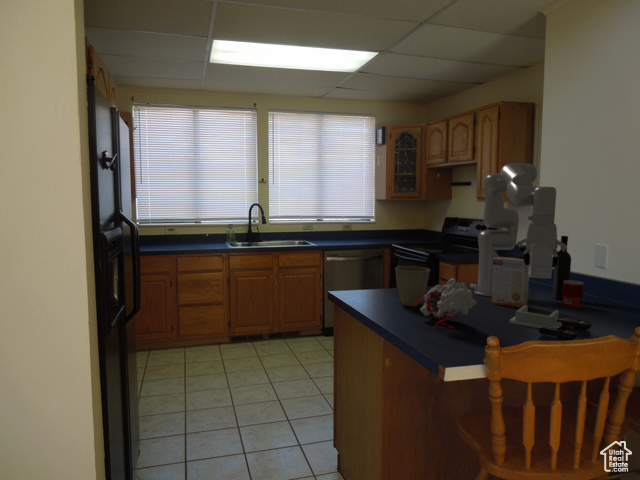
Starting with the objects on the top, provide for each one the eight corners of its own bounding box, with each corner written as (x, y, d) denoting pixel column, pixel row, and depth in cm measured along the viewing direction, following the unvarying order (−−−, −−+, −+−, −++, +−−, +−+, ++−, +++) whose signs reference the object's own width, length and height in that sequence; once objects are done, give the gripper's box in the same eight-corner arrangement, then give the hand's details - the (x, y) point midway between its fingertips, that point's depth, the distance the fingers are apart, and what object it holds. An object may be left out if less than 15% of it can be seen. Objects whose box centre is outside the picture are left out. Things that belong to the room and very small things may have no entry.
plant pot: (401, 309, 192) (403, 271, 191) (389, 301, 207) (390, 266, 205) (434, 308, 195) (436, 271, 194) (420, 300, 210) (421, 265, 208)
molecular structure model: (416, 345, 169) (465, 320, 151) (395, 299, 175) (440, 270, 157) (450, 334, 181) (499, 309, 163) (429, 291, 187) (474, 263, 169)
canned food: (584, 308, 199) (586, 283, 198) (564, 307, 201) (566, 282, 199) (578, 304, 206) (580, 280, 205) (559, 303, 208) (560, 279, 207)
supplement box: (548, 276, 175) (551, 243, 174) (551, 279, 168) (554, 245, 167) (527, 274, 178) (529, 242, 176) (529, 277, 171) (531, 243, 169)
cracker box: (527, 306, 201) (530, 259, 199) (522, 309, 197) (525, 260, 195) (496, 301, 211) (498, 256, 209) (490, 303, 206) (493, 257, 204)
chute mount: (509, 323, 174) (510, 310, 173) (519, 315, 185) (520, 304, 184) (555, 331, 164) (556, 318, 164) (563, 323, 175) (564, 311, 175)
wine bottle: (564, 297, 220) (568, 235, 218) (569, 300, 215) (573, 236, 212) (551, 297, 221) (555, 235, 218) (556, 300, 215) (560, 236, 213)
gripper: (515, 219, 173) (513, 264, 175) (567, 221, 163) (563, 269, 164) (521, 218, 179) (518, 262, 181) (571, 220, 168) (567, 267, 170)
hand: (540, 265), depth 172 cm, fingers closed on supplement box, 9 cm apart
